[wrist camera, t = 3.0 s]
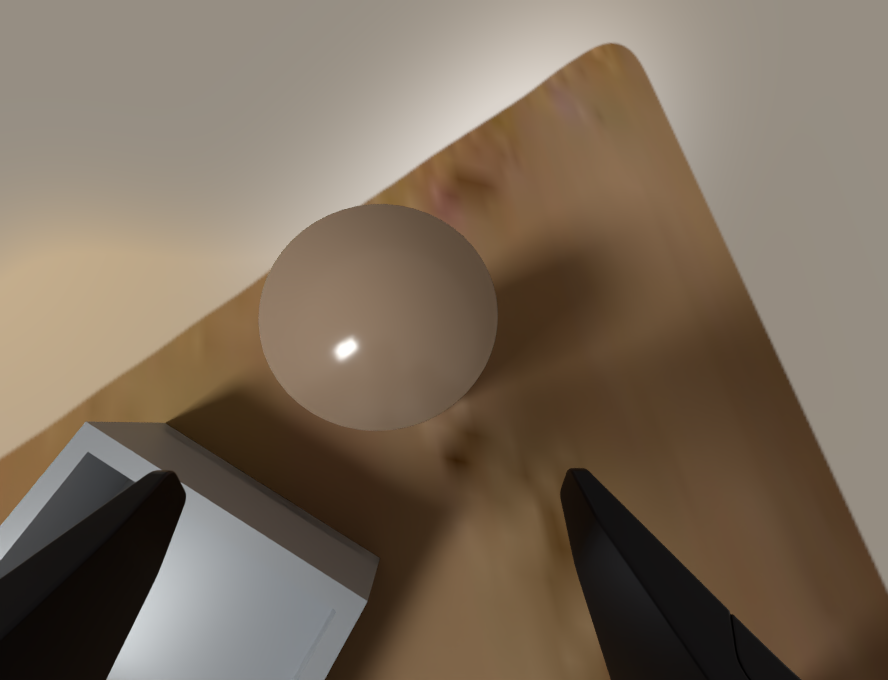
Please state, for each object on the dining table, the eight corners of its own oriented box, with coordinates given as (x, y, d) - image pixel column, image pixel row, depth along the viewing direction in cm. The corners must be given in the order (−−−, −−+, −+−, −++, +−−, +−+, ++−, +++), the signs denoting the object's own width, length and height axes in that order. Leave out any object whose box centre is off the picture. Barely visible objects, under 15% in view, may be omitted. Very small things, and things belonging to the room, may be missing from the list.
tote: (379, 558, 18) (367, 601, 13) (209, 863, 15) (123, 1046, 10) (164, 422, 18) (85, 421, 14) (-39, 688, 16) (-218, 791, 11)
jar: (468, 362, 20) (536, 273, 9) (419, 447, 19) (421, 480, 7) (387, 314, 21) (347, 167, 9) (333, 396, 19) (206, 349, 8)
